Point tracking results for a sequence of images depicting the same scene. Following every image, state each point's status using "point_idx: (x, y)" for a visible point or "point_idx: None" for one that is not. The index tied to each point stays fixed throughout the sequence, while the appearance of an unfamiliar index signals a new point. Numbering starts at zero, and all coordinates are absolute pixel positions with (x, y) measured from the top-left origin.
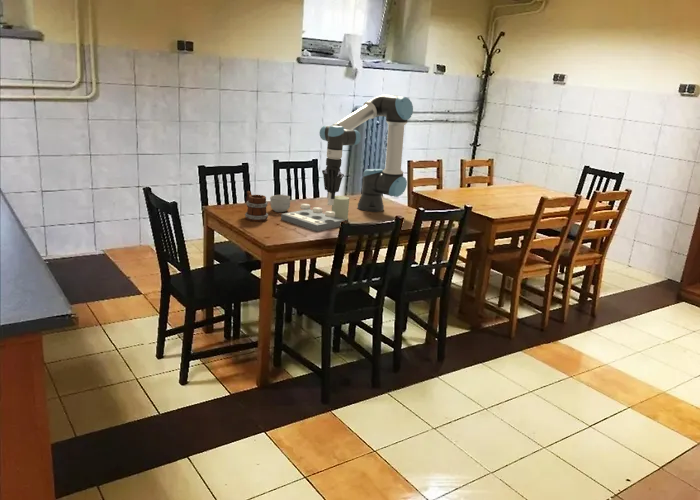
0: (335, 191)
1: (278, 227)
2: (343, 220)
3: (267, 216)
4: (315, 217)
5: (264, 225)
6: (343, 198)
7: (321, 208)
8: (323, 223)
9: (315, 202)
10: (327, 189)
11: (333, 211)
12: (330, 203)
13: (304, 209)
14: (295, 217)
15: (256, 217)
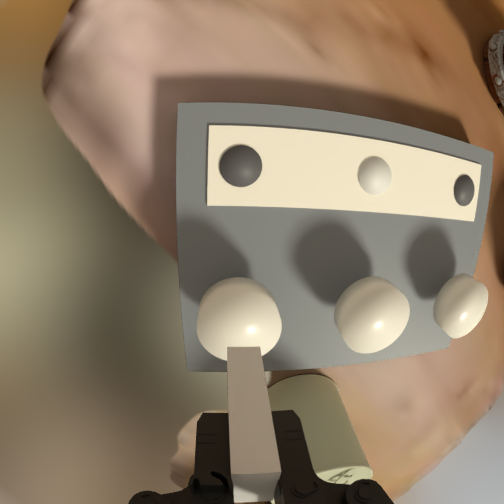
0: (131, 501)
1: (382, 9)
2: (186, 359)
3: (500, 90)
4: (342, 259)
5: (435, 5)
6: None
7: (358, 346)
8: (188, 183)
9: (458, 423)
10: (318, 500)
11: (321, 405)
12: (227, 369)
13: (450, 280)
14: (419, 144)
15: (498, 35)
